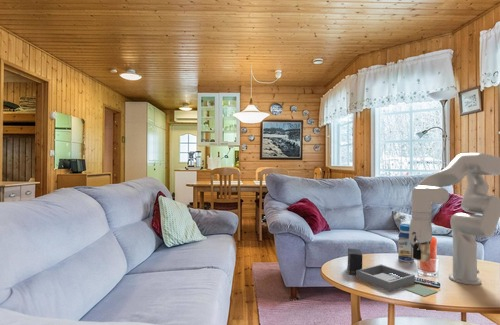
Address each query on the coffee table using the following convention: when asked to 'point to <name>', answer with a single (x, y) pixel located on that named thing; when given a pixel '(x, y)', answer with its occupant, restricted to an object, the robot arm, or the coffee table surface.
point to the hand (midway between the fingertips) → (420, 257)
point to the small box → (354, 261)
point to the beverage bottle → (404, 244)
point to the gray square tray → (385, 277)
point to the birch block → (424, 252)
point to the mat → (421, 290)
